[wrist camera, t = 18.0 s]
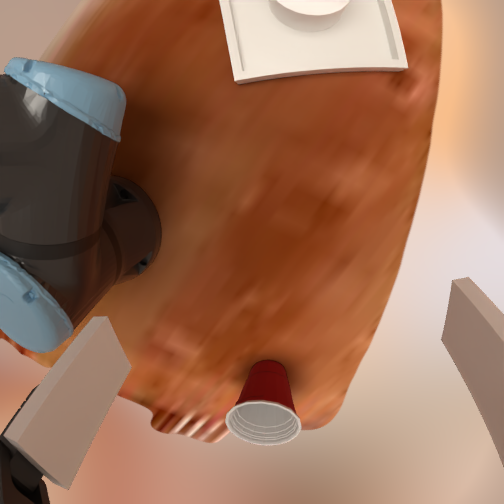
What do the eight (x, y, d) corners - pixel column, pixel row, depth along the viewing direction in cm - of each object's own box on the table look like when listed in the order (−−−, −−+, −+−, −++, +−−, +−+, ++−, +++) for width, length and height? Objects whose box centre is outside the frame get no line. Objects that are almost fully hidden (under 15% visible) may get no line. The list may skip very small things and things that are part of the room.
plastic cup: (266, 336, 46) (261, 394, 35) (313, 370, 48) (317, 427, 37) (222, 369, 50) (209, 424, 39) (268, 399, 52) (263, 452, 41)
